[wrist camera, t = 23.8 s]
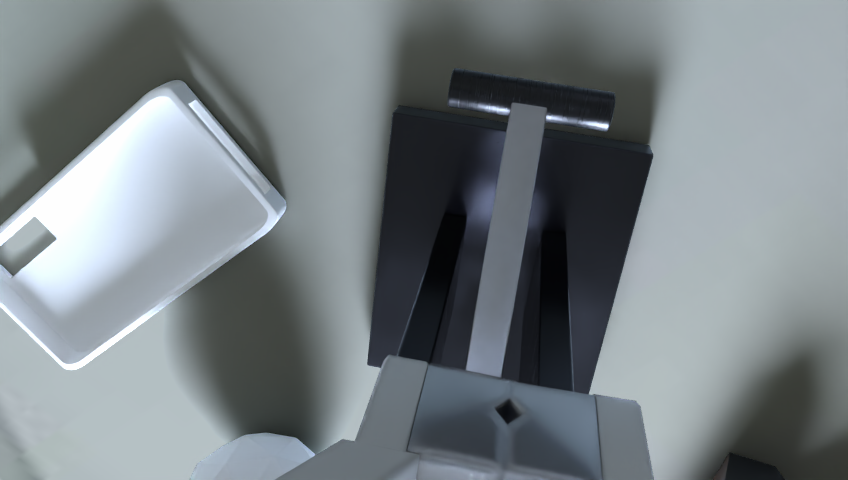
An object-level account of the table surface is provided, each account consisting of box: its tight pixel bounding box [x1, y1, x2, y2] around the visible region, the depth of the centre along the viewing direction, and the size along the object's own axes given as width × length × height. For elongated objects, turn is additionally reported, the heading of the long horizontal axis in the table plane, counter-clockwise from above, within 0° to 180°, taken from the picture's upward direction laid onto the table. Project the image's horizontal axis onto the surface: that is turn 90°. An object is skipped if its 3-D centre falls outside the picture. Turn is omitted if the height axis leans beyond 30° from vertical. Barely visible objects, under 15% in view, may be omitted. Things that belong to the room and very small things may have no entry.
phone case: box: [0, 80, 286, 370], centre depth 33 cm, size 7×1×15 cm
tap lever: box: [448, 68, 616, 381], centre depth 22 cm, size 12×5×2 cm
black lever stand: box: [367, 105, 653, 394], centre depth 26 cm, size 12×10×13 cm
